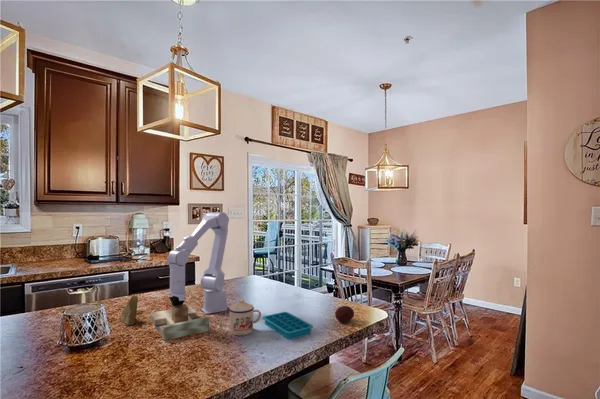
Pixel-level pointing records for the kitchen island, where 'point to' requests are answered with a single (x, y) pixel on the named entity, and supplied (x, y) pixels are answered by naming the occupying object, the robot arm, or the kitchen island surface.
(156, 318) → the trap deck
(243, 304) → the teacup with lid
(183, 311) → the block
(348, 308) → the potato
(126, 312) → the rock
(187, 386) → the kitchen island surface
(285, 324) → the ice cube tray
